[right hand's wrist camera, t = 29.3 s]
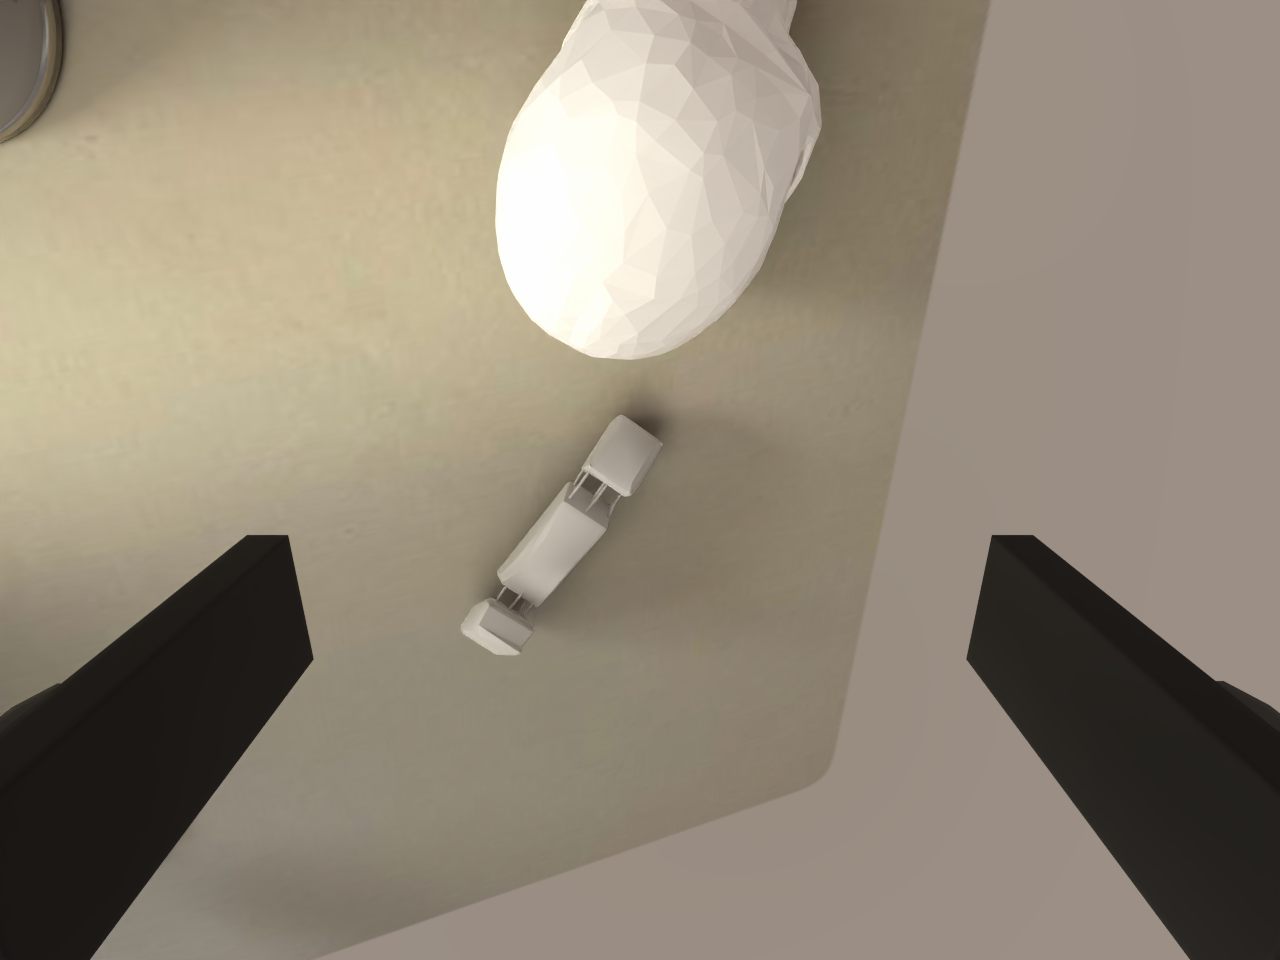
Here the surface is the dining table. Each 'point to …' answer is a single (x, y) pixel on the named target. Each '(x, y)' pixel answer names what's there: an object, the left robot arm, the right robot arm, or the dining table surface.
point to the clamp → (562, 536)
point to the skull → (653, 169)
